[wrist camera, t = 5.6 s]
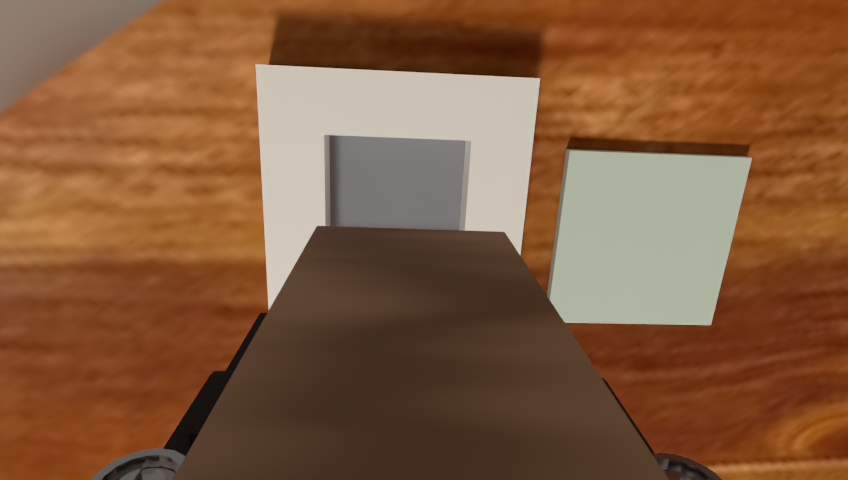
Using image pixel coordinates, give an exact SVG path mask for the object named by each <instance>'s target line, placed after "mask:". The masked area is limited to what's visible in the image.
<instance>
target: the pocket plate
mask: <svg viewBox="0 0 848 480" xmlns="http://www.w3.org/2000/svg"><path fill="white" fill-rule="evenodd" d="M256 81H257V100H258V119H259V138H260V156H261V175H262V194H263V213H264V231H265V250H266V269H267V288H268V307H269V309H270V307H271V306H272V304H273V302H274V300H275V299H276V297H277V295H278V293H279V292H280V290H281V288H282V286H283V285H284V283H285V281H286V279H287V278H288V276H289V274H290V272H291V271H292V269H293V267H294V265H295V264H296V262H297V260H298V258H299V257H300V255H301V253H302V251H303V250H304V248H305V246H306V244H307V243H308V241H309V239H310V237H311V235H312V234H313V232H314V230H315V228H316V227H317V226H339V227H370V228H401V229H432V230H463V231H494V232H505V233H506V235H507V236H508V238H509V239H510V241H511V242H512V244H513V245H514V247H515V249H516V250H517V252H518V253H519V255H521V246H522V237H523V228H524V219H525V210H526V201H527V192H528V183H529V174H530V165H531V156H532V147H533V138H534V130H535V121H536V112H537V103H538V94H539V85H540V78H524V77H504V76H483V75H463V74H443V73H422V72H402V71H382V70H362V69H341V68H321V67H301V66H280V65H260V64H256Z"/></svg>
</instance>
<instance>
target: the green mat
mask: <svg viewBox="0 0 848 480" xmlns="http://www.w3.org/2000/svg"><path fill="white" fill-rule="evenodd" d="M751 160H752V158H751V157H747V156H731V155H706V154H681V153H656V152H631V151H606V150H581V149H566V154H565V162H564V169H563V177H562V185H561V192H560V200H559V207H558V215H557V222H556V230H555V238H554V245H553V253H552V260H551V268H550V275H549V283H548V291H547V297H548V298H549V300H550V301H551V303H552V304H553V306H554V307H555V309H556V310H557V312H558V313H559V315H560V316H561V318H562V319H563V321H564V322H565V323H617V324H676V325H711V323H712V319H713V315H714V311H715V307H716V302H717V298H718V294H719V290H720V286H721V282H722V278H723V274H724V270H725V266H726V262H727V258H728V254H729V250H730V246H731V242H732V237H733V233H734V229H735V225H736V221H737V217H738V213H739V209H740V205H741V201H742V197H743V193H744V189H745V185H746V181H747V177H748V172H749V168H750V164H751Z"/></svg>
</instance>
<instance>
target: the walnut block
mask: <svg viewBox="0 0 848 480" xmlns="http://www.w3.org/2000/svg"><path fill="white" fill-rule="evenodd" d="M173 480H669V479H668V478H667V476H666V475H665V473H664V472H663V470H662V468H661V467H660V465H659V464H658V462H657V461H656V459H655V458H654V456H653V455H652V453H651V452H650V450H649V449H648V447H647V446H646V444H645V443H644V441H643V440H642V438H641V437H640V435H639V434H638V432H637V431H636V429H635V428H634V426H633V425H632V423H631V422H630V420H629V419H628V417H627V416H626V414H625V413H624V411H623V410H622V408H621V407H620V405H619V404H618V402H617V401H616V399H615V398H614V396H613V395H612V393H611V392H610V390H609V389H608V387H607V386H606V384H605V383H604V381H603V380H602V378H601V377H600V375H599V374H598V372H597V371H596V369H595V368H594V366H593V365H592V363H591V362H590V360H589V359H588V357H587V355H586V354H585V352H584V351H583V349H582V348H581V346H580V345H579V343H578V342H577V340H576V339H575V337H574V336H573V334H572V333H571V331H570V330H569V328H568V327H567V325H566V324H565V322H564V321H563V319H562V318H561V316H560V315H559V313H558V312H557V310H556V309H555V307H554V306H553V304H552V303H551V301H550V300H549V298H548V297H547V295H546V294H545V292H544V291H543V289H542V288H541V286H540V285H539V283H538V282H537V280H536V279H535V277H534V276H533V274H532V273H531V271H530V270H529V268H528V267H527V265H526V264H525V262H524V261H523V259H522V258H521V256H520V255H519V253H518V252H517V250H516V249H515V247H514V245H513V244H512V242H511V241H510V239H509V238H508V236H507V235H506V233H505V232H494V231H463V230H432V229H401V228H370V227H339V226H317V227H316V228H315V230H314V232H313V234H312V235H311V237H310V239H309V241H308V243H307V244H306V246H305V248H304V250H303V251H302V253H301V255H300V257H299V258H298V260H297V262H296V264H295V265H294V267H293V269H292V271H291V272H290V274H289V276H288V278H287V279H286V281H285V283H284V285H283V286H282V288H281V290H280V292H279V293H278V295H277V297H276V299H275V300H274V302H273V304H272V306H271V307H270V309H269V311H268V313H267V315H266V316H265V318H264V320H263V322H262V323H261V325H260V327H259V329H258V330H257V332H256V334H255V336H254V337H253V339H252V341H251V343H250V344H249V346H248V348H247V350H246V351H245V353H244V355H243V357H242V358H241V360H240V362H239V364H238V365H237V367H236V369H235V371H234V372H233V374H232V376H231V378H230V379H229V381H228V383H227V385H226V387H225V388H224V390H223V392H222V394H221V395H220V397H219V399H218V401H217V402H216V404H215V406H214V408H213V409H212V411H211V413H210V415H209V416H208V418H207V420H206V422H205V423H204V425H203V427H202V429H201V430H200V432H199V434H198V436H197V437H196V439H195V441H194V443H193V444H192V446H191V448H190V450H189V452H188V453H187V455H186V457H185V459H184V460H183V462H182V464H181V466H180V467H179V469H178V471H177V473H176V474H175V476H174V478H173Z"/></svg>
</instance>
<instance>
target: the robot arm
mask: <svg viewBox="0 0 848 480" xmlns="http://www.w3.org/2000/svg"><path fill="white" fill-rule="evenodd" d="M266 315H267V313H260V314H259V316H258V318H257V319H256V321H255V323H254V324H253V326H252V328H251V329H250V331H249V333H248V334H247V336H246V338H245V339H244V341H243V343H242V344H241V346H240V348H239V349H238V351H237V353H236V355H235V356H234V358H233V360H232V361H231V363H230V365H229V366H228V368H227V370H226V371H214V372H213V373H212V374H211V375H210V376H209V378H208V379H207V381H206V383H205V384H204V386H203V387H202V389H201V390H200V392H199V393H198V395H197V397H196V398H195V400H194V401H193V403H192V404H191V406H190V408H189V409H188V411H187V412H186V414H185V415H184V417H183V418H182V420H181V422H180V423H179V425H178V426H177V428H176V429H175V431H174V432H173V434H172V436H171V437H170V439H169V440H168V442H167V443H166V445H165V447H164V448H163V449H162V448H160V449H147V450H143V451H139V452H135V453H131V454H129V455H127V456H124V457H122V458H120V459H117V460H115V461H114V462H112V463H111V464H109V465H107V466H106V467H104V468H103V469H101V470H100V471H99V472H98V473H97V474H96V475H95V476H94V477H93V478H92V479H91V480H173V478H174V476H175V474H176V473H177V471H178V469H179V467H180V466H181V464H182V462H183V460H184V459H185V457H186V455H187V453H188V452H189V450H190V448H191V446H192V444H193V443H194V441H195V439H196V437H197V436H198V434H199V432H200V430H201V429H202V427H203V425H204V423H205V422H206V420H207V418H208V416H209V415H210V413H211V411H212V409H213V408H214V406H215V404H216V402H217V401H218V399H219V397H220V395H221V394H222V392H223V390H224V388H225V387H226V385H227V383H228V381H229V379H230V378H231V376H232V374H233V372H234V371H235V369H236V367H237V365H238V364H239V362H240V360H241V358H242V357H243V355H244V353H245V351H246V350H247V348H248V346H249V344H250V343H251V341H252V339H253V337H254V336H255V334H256V332H257V330H258V329H259V327H260V325H261V323H262V322H263V320H264V318H265V316H266ZM602 380H603V381H604V383H605V384H606V386H607V387H608V389H609V390H610V392H611V393H612V395H613V396H614V398H615V399H616V401H617V402H618V404H619V405H620V407H621V408H622V410H623V411H624V413H625V414H626V416H627V417H628V419H629V420H630V422H631V423H632V425H633V426H634V428H635V429H636V431H637V432H638V434H639V435H640V437H641V438H642V440H643V441H644V443H645V444H646V446H647V447H648V449H649V450H650V452H651V453H652V455H653V456H654V458H655V459H656V461H657V462H658V464H659V465H660V467H661V468H662V470H663V472H664V473H665V475H666V476H667V478H668V479H669V480H722V479H721V478H720V477H719V476H718V475H717V474H716V473H715V472H713V471H712V470H710V469H709V468H707V467H706V466H704V465H703V464H700V463H698V462H696V461H694V460H692V459H690V458H687V457H683V456H680V455H676V454H671V453H654V452H653V450H652V449H651V447H650V446H649V444H648V443H647V441H646V440H645V438H644V437H643V435H642V434H641V432H640V431H639V429H638V428H637V426H636V425H635V423H634V422H633V421H632V419H631V418H630V416H629V415H628V413H627V412H626V410H625V409H624V407H623V406H622V404H621V403H620V401H619V400H618V398H617V397H616V395H615V394H614V392H613V391H612V389H611V388H610V386H609V385H608V383H607V382H606V381H605V380H604V379H603V378H602Z"/></svg>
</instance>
